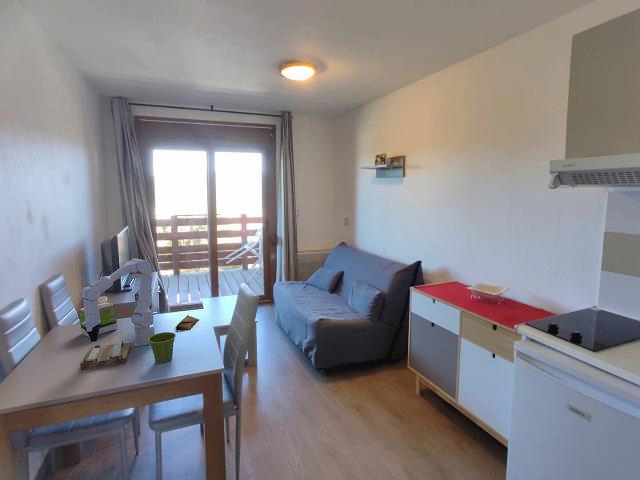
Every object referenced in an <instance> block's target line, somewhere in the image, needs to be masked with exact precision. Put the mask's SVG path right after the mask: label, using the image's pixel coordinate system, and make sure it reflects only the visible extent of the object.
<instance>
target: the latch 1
mask: <svg viewBox="0 0 640 480" xmlns="http://www.w3.org/2000/svg"><path fill="white" fill-rule="evenodd" d="M100 350H101V347H98V348H93V350H92V352H91V354H90V355H89V357H88V359H87V361H94V360H95V359H96V357H97V355H98V353H99V351H100Z"/></svg>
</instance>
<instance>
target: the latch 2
mask: <svg viewBox="0 0 640 480" xmlns="http://www.w3.org/2000/svg"><path fill="white" fill-rule="evenodd" d="M123 339H124V335H123V334H118V335H115V339H114V344H113V345H114V349H113V355H112V358H114V357H120V353H121V346H122V342H123Z"/></svg>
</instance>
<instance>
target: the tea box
mask: <svg viewBox="0 0 640 480" xmlns="http://www.w3.org/2000/svg"><path fill="white" fill-rule="evenodd" d="M98 305H99V315H100V320H101V322H100V323H101V326H100V329H99V335H101V334H105V333H108V332H111V331H114V330H117V329H118V323H117V321H118V320H117V314H116V313H117V312H116V305H115V304H113V303H111V302H107V301H105V302H102V303H101V302H100V303H98ZM78 314H79V321H80V322H79V323H80V330H81V334H82V335H83V336H86V337H88V338H90V337H89V335H88V333H87V332H86V331H85V328H86V325H83V324H82V323H83V322H85V313H84V307H82V308H79V309H78Z"/></svg>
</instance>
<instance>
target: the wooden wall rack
mask: <svg viewBox="0 0 640 480" xmlns="http://www.w3.org/2000/svg"><path fill="white" fill-rule="evenodd" d="M98 347H101V350H100V351H99V353H98V355H97V357H96V359H95V360H94V361H87V359H88V357H89V355H90V354H91V352H92V350H93V348H98ZM132 348H133V347H132V342H124V341H122V346H121V353H120V357H114V358H112V355H113V349H114V344H108V345H107V344H106V345H100V344H96V345H94V346H93V347H92V346H91V347H89V349H88V351H86V353H85V355H84V357H83V358H82V360H81V361H80V363H79V368H80V370H83V371H84V370H88V369H93V368H103V367H107V366H108V367H109V366H115V365H121V364H127V362H128V358H129V356H130V354H131V350H132Z"/></svg>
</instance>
